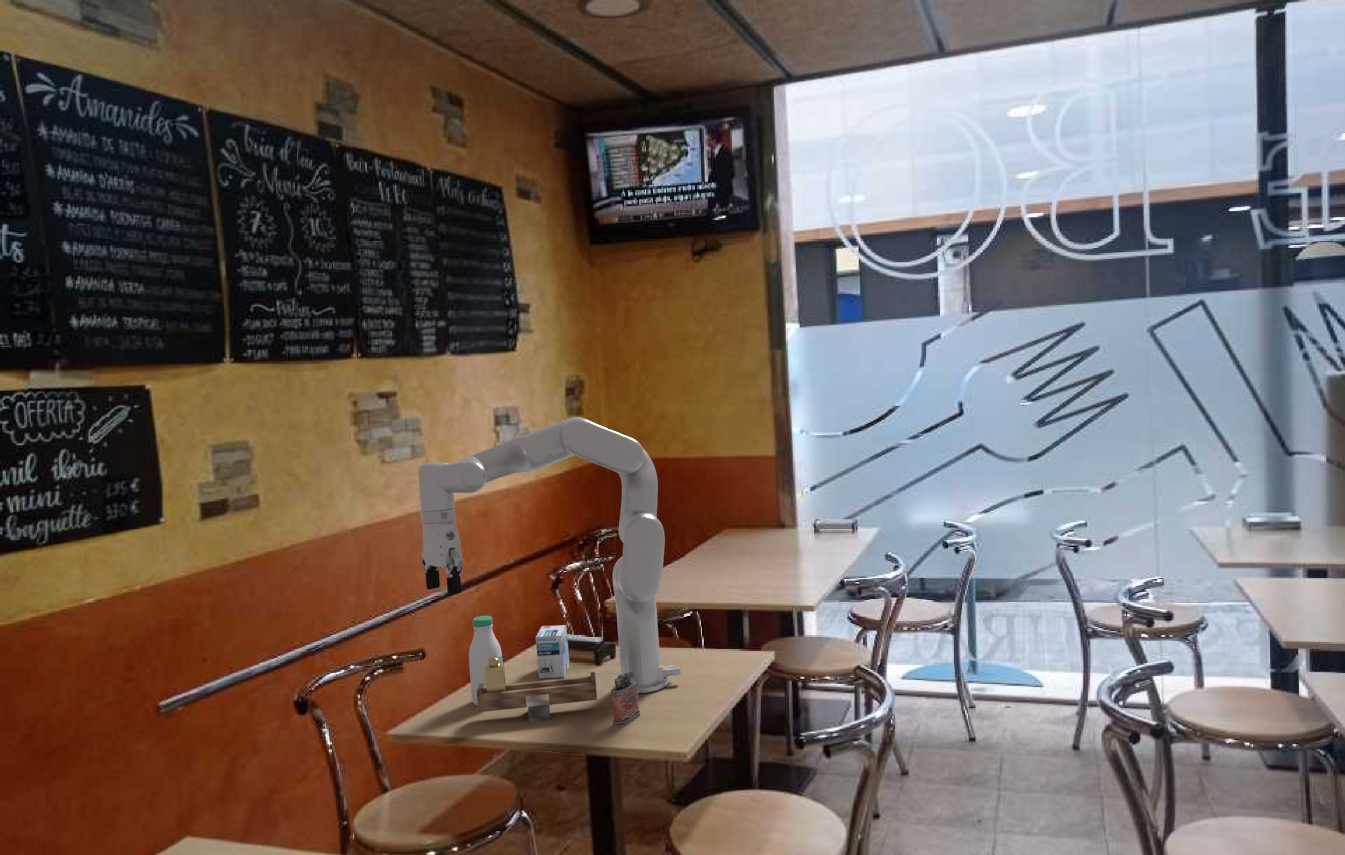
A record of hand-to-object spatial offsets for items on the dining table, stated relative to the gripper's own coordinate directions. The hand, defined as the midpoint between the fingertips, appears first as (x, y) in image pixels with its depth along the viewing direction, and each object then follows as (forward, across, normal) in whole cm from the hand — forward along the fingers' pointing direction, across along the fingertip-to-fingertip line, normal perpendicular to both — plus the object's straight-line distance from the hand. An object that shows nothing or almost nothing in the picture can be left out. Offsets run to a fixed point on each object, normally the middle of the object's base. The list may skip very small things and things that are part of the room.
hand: (443, 591), depth 227 cm
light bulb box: (+28, +5, -32) cm, 43 cm away
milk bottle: (+28, -1, -9) cm, 30 cm away
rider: (+22, -13, -4) cm, 26 cm away
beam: (+28, -19, -11) cm, 35 cm away
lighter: (+28, -37, -22) cm, 51 cm away
